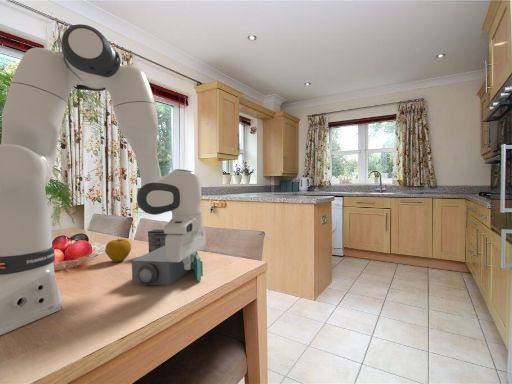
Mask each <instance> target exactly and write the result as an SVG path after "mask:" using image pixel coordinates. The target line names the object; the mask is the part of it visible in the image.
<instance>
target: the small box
mask: <svg viewBox="0 0 512 384" xmlns="http://www.w3.org/2000/svg"><path fill="white" fill-rule="evenodd" d="M147 236H148V238H147V239H148V253H150V252H152V251H154V250H156V249H158V248H161V247H163V246H165V238H166V236H167V234H165V233H164V228H162V229H161V228H160V229H151V230H149V231H147Z"/></svg>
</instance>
